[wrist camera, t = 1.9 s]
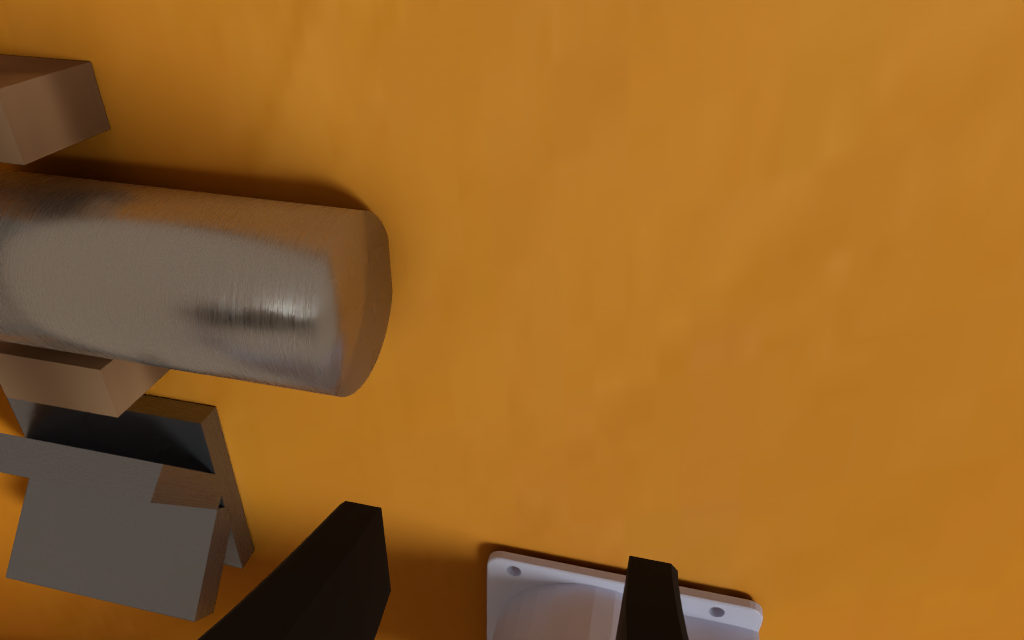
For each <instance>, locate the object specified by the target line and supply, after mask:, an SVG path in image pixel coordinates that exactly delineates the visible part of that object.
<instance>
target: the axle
mask: <svg viewBox="0 0 1024 640" xmlns="http://www.w3.org/2000/svg"><path fill="white" fill-rule="evenodd" d="M391 301H392V279H391V267H390V255H389V243H388V236H387V233H386V231H385V228H384V226H383V224H382V222H381V221H380V219H379V218H378V217H377V216H376V215H375V214H373V213H372V212H369V211H364V210H355V209H347V208H338V207H329V206H320V205H311V204H303V203H294V202H285V201H276V200H267V199H259V198H250V197H241V196H232V195H223V194H215V193H206V192H197V191H188V190H180V189H171V188H162V187H153V186H144V185H136V184H127V183H118V182H109V181H100V180H92V179H83V178H74V177H65V176H56V175H48V174H39V173H30V172H21V171H12V170H4V169H0V341H4V342H10V343H16V344H23V345H29V346H35V347H41V348H47V349H53V350H59V351H65V352H71V353H77V354H83V355H89V356H95V357H102V358H108V359H114V360H120V361H126V362H132V363H138V364H144V365H150V366H156V367H162V368H168V369H174V370H181V371H187V372H193V373H199V374H205V375H211V376H217V377H223V378H229V379H235V380H241V381H247V382H253V383H259V384H266V385H272V386H278V387H284V388H290V389H296V390H302V391H308V392H314V393H320V394H326V395H332V396H338V397H346V396H349V395H351V394H353V393H355V392H356V391H357V390H358V389H359V388H360V387H361V386H362V385H363V384H364V382H365V381H366V379H367V378H368V377H369V375H370V373H371V371H372V369H373V367H374V365H375V363H376V361H377V359H378V356H379V353H380V351H381V348H382V345H383V342H384V338H385V334H386V330H387V326H388V321H389V315H390V309H391Z"/></svg>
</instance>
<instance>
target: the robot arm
mask: <svg viewBox="0 0 1024 640" xmlns="http://www.w3.org/2000/svg"><path fill="white" fill-rule="evenodd" d="M390 591H391V588H390V579H389V570H388V562H387V553H386V544H385V536H384V527H383V518H382V510H381V508H379V507H374V506H369V505H364V504H359V503H353V502H348V501H345V502H343V503H342V504H340V505H339V506H338V507H337V508H336V509H335V510H334V511H333V512H332V513H331V514H330V515H329V516H328V517H327V518H326V519H325V520H324V521H323V522H322V523H321V524H320V525H319V526H318V527H317V528H316V530H315V531H314V532H313V533H312V534H311V535H310V536H309V537H308V538H307V539H306V540H305V541H304V542H303V543H302V544H301V545H300V546H299V547H298V548H297V549H296V550H295V551H293V552H292V553H291V554H290V555H289V556H288V557H287V558H286V559H285V560H284V561H283V562H282V563H281V564H280V565H279V566H278V567H277V568H276V569H275V570H274V571H273V572H272V573H271V574H270V575H269V576H268V577H267V578H265V579H264V580H263V581H262V582H261V583H260V584H259V585H258V586H257V587H256V588H255V589H254V590H253V591H252V592H250V593H249V594H248V595H247V596H246V597H245V598H244V599H243V600H242V601H241V602H240V603H239V604H238V605H237V606H235V607H234V608H233V609H232V610H231V611H230V612H229V613H228V614H227V615H225V616H224V617H223V618H222V619H221V620H220V621H219V622H217V623H216V624H215V625H214V626H213V627H212V628H210V629H209V630H208V631H207V632H206V633H205V634H203V635H202V636H201V637H200V638H199V639H198V640H374V639H375V636H376V633H377V630H378V627H379V625H380V621H381V618H382V615H383V612H384V609H385V606H386V603H387V600H388V597H389V594H390ZM762 621H763V615H762V608H761V606H760V605H759V604H757V603H756V602H754V601H751V600H747V599H742V598H737V597H732V596H727V595H722V594H717V593H712V592H707V591H702V590H697V589H692V588H687V587H682V586H679V582H678V571H677V570H676V568H675V567H674V566H673V565H672V564H670V563H665V562H660V561H654V560H649V559H644V558H639V557H634V556H629V562H628V568H627V574H626V575H621V574H616V573H611V572H606V571H601V570H596V569H591V568H586V567H581V566H576V565H570V564H565V563H560V562H555V561H550V560H545V559H540V558H535V557H530V556H525V555H520V554H515V553H510V552H505V551H495V552H493V553H491V554H490V556H489V559H488V563H487V640H759V629H760V626H761V624H762Z"/></svg>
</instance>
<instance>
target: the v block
mask: <svg viewBox="0 0 1024 640" xmlns="http://www.w3.org/2000/svg"><path fill="white" fill-rule="evenodd" d="M7 399H8V401H9V403H10V405H11V408H12V410H13V412H14V414H15V416H16V418H17V420H18V422H19V424H20V427H21V429H22V431H23V433H24V435H25V437H26V438H24V437H19V436H13V435H8V434H3V433H0V472H3V473H7V474H12V475H17V476H22V477H27V478H29V482H28V486H27V490H26V494H25V498H24V503H23V507H22V511H21V515H20V519H19V524H18V528H17V532H16V536H15V540H14V545H13V549H12V553H11V557H10V561H9V566H8V570H7V574H6V578H10V579H15V580H19V581H23V582H27V583H32V584H36V585H40V586H44V587H49V588H53V589H57V590H61V591H66V592H70V593H74V594H79V595H83V596H87V597H91V598H96V599H100V600H104V601H108V602H113V603H117V604H121V605H125V606H130V607H134V608H138V609H142V610H147V611H151V612H155V613H160V614H164V615H168V616H172V617H177V618H181V619H185V620H189V621H194V622H195V621H197V620H199V619H201V618H203V617H206V616H208V615H210V614H212V613H214V609H215V604H216V599H217V594H218V589H219V584H220V579H221V574H222V569H223V564H224V565H229V566H233V567H238V568H242V569H243V567H244V566H245V564H246V563H247V561H248V560H249V558H250V557H251V555H252V554H253V552H254V547H253V544H252V540H251V536H250V532H249V529H248V525H247V521H246V518H245V514H244V510H243V506H242V503H241V499H240V495H239V491H238V488H237V484H236V480H235V477H234V473H233V469H232V465H231V462H230V458H229V454H228V451H227V447H226V443H225V439H224V436H223V432H222V428H221V425H220V421H219V417H218V413H217V410H216V407H212V406H206V405H200V404H195V403H189V402H183V401H177V400H172V399H166V398H160V397H154V396H148V395H142V396H141V397H140V398H139V399H137V400H136V401H135V402H134V403H133V404H132V405H131V406H130V407H129V408H128V409H127V410H126V411H124V412H123V413H122V414H121V415H120V416H119V417H118V418H117V417H112V416H106V415H101V414H95V413H90V412H84V411H79V410H73V409H68V408H62V407H57V406H51V405H46V404H40V403H35V402H29V401H24V400H18V399H13V398H7Z"/></svg>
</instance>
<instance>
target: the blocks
mask: <svg viewBox="0 0 1024 640" xmlns="http://www.w3.org/2000/svg"><path fill="white" fill-rule="evenodd" d="M109 129H110V126H109V123H108V119H107V116H106V113H105V109H104V106H103V102H102V99H101V96H100V92H99V89H98V85H97V82H96V78H95V75H94V72H93V68H92V65H91V62H87V61H75V60H62V59H50V58H37V57H25V56H12V55H0V162H1V163H10V164H19V165H26V164H28V163H31V162H33V161H35V160H38V159H40V158H43V157H45V156H47V155H50V154H52V153H54V152H57V151H59V150H62V149H64V148H66V147H69V146H71V145H74V144H76V143H78V142H81V141H83V140H85V139H88V138H90V137H93V136H95V135H97V134H100V133H102V132H104V131H107V130H109ZM169 370H170V369H168V368H162V367H156V366H150V365H144V364H138V363H132V362H126V361H120V360H114V359H108V358H102V357H95V356H89V355H83V354H77V353H71V352H65V351H59V350H53V349H47V348H41V347H35V346H29V345H23V344H16V343H10V342H4V341H0V384H1V386H2V389H3V391H4V393H5V395H6V397H7V398H13V399H18V400H24V401H29V402H35V403H40V404H46V405H51V406H57V407H62V408H68V409H73V410H79V411H84V412H90V413H95V414H101V415H106V416H112V417H117V418H118V417H119V416H120V415H121V414H122V413H123V412H124V411H126V410H127V409H128V408H129V407H130V406H131V405H132V404H133V403H134V402H135V401H136V400H137V399H139V398H140V397H141V396H142V395H143V394H144V393H145V392H146V391H147V390H148V389H149V388H150V387H151V386H153V385H154V384H155V383H156V382H157V381H158V380H159V379H160V378H161V377H162V376H163V375H164V374H166V373H167V372H168V371H169Z"/></svg>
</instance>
